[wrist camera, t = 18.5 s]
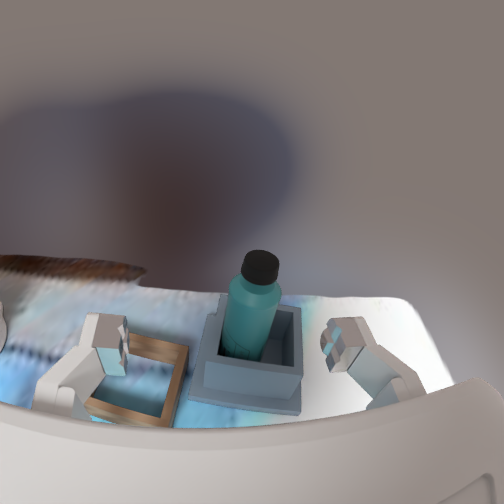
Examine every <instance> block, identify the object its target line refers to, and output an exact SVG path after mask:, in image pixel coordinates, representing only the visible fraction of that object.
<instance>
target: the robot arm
mask: <svg viewBox="0 0 504 504" xmlns="http://www.w3.org/2000/svg"><path fill="white" fill-rule="evenodd" d="M126 326H127V319H126V316H122V315H112V314H102V313H92V312H88V314H87V315H86V319H85V322H84V326H83V330H82V334H81V337H80V341H79V345H78V346H74V347H73V348H72V349H71V350H70V351H69V352H67V353H66V354H65V355H64V356H63V357H62V358H61V359H60V360H59V361H58V362H57V363H56V364H55V365H54V366H53V367H52V368H51V369H50V370H48V371H47V372H46V373H45V374H44V375H43V376H42V377H41V378H40V379H39V380H38V382H37V386H36V390H35V394H34V398H33V402H32V407H31V409H27V408H23V407H19V406H15V405H12V404H8V403H5V402H1V401H0V504H504V400H503V399H502V397H501V395H500V394H499V392H498V391H497V390H495V388H493V387H492V386H491V385H489V384H488V383H487V382H485V381H484V380H482V379H481V378H472V379H469V380H467V381H464V382H461V383H459V384H456V385H453V386H450V387H447V388H444V389H441V390H438V391H435V392H432V393H429V394H427V393H426V391H425V389H424V387H423V385H422V383H421V381H420V379H419V377H418V375H417V373H416V372H415V371H414V370H412V369H411V368H410V367H408V366H407V365H406V364H405V363H403V362H402V361H401V360H399V359H398V358H397V357H395V356H394V355H393V354H391V353H390V352H389V351H388V350H386V349H385V348H384V347H382V346H381V345H377V343H376V341H375V339H374V337H373V335H372V333H371V331H370V329H369V327H368V325H367V323H366V321H365V319H364V318H363V317H344V318H331V319H330V320H329V321H328V322H327V326H328V328H327V329H325V330H324V331H323V333H322V335H321V340H320V344H321V349H322V352H323V353H325V354H326V355H327V358H326V363H327V366H328V369H329V372H330V373H333V372H343V371H347V373H348V374H349V375H350V376H351V377H352V378H353V379H354V380H355V381H356V382H357V383H358V384H359V385H360V386H361V387H362V388H363V389H364V390H365V391H366V392H367V393H368V394H369V395H370V396H371V397H372V398H373V400H372V401H371V402H370V403H369V404H368V405H367V407H366V410H364V411H360V412H355V413H350V414H345V415H339V416H334V417H328V418H321V419H315V420H308V421H301V422H293V423H284V424H274V425H263V426H250V427H231V428H163V427H145V426H132V425H121V424H112V423H103V422H96V421H92V418H91V416H90V415H89V413H88V412H87V410H86V409H85V407H84V405H83V404H84V403H85V402H86V400H87V399H88V398H89V397H90V395H91V394H92V393H93V391H94V390H95V389H96V388H97V386H98V385H99V384H100V382H101V381H102V380H103V379H104V377H105V375H117V376H126V371H127V363H128V361H127V357H126V355H127V354H128V353H129V344H130V337H129V329H127V328H126ZM6 335H7V328H6V323H5V320H4V318H3V305H2V303H1V301H0V351H1V350H2V348H3V346H4V343H5V340H6Z"/></svg>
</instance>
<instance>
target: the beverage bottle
mask: <svg viewBox="0 0 504 504" xmlns="http://www.w3.org/2000/svg"><path fill="white" fill-rule="evenodd" d="M278 270H279V260H278V258H277V257H276V256H275V255H273V254H272V253H270V252H267V251H264V250H253V251H250V252H248V253H247V254H246V256H245V259H244V262H243V264H242V268H241V273H240V274H238V275H236V276H235V277H234V278H233V279H232V280H231V282H230V285H229V294H228V300H227V307H226V312H225V318H224V325H223V330H222V331H223V332H221V336H222V338H220V339H221V340H220V344H219V345H220V347H219V352H218V353H219V355H220V356H224V357H230V358H236V359H242V360H248V361H254V362H260V360H261V358H262V354H263V353H264V352H263V351H264V348H265V345H266V342H267V341H268V340H267V339H268V336H269V333H270V329H271V325H272V322H273V319H274V316H275V313H276V310H277V307H278V303H279V301H280V299H281V295H282V293H281V288H280V286H279V284H278V283H277V282H276V279H277V276H278ZM224 311H225V310H224ZM267 343H268V342H267Z"/></svg>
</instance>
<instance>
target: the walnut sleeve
mask: <svg viewBox="0 0 504 504" xmlns="http://www.w3.org/2000/svg"><path fill="white" fill-rule="evenodd" d="M129 337H130V344H129V354H133V355H137V356H141V357H144V358H148V359H152V360H156V361H160V362H165V363H169V364H173V365H175V367H174V371H173V374H172V378H171V381H170V385H169V388H168V392H167V396H166V399H165V403H164V407H163V411H162V414H161V418H158V417H154V416H150V415H147V414H143V413H139V412H136V411H132V410H129V409H126V408H122V407H119V406H116V405H113V404H110V403H107V402H104V401H101V400H98V399H95V398H93V396H94V394H95V391H96V389H97V388H96V389H95V390H94V391H93V393H92V394H91V395H90V397H89V398H88V399H87V400H86V402H85V403H84V404H83V405H84V407H85V409H86V410H87V412H88V413H89V414H90V415H93V416H95V417H98V418H101V419H104V420H107V421H110V422H113V423H116V424H121V425H132V426H145V427H163V428H172V426H173V422H174V418H175V414H176V409H177V405H178V401H179V397H180V393H181V389H182V385H183V381H184V377H185V373H186V369H187V365H188V361H189V346H184V345H180V344H175V343H171V342H166V341H162V340H158V339H154V338H149V337H145V336H141V335H137V334H134V333H130V332H129Z"/></svg>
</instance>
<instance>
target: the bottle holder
mask: <svg viewBox="0 0 504 504" xmlns="http://www.w3.org/2000/svg"><path fill="white" fill-rule="evenodd" d="M227 300H228V295H223V294H221V295H220V299H219V304H218V308H217V312H216V316H215V315H210V314H208V315H207V319H206V323H205V327H204V331H203V335H202V339H201V344H200V348H199V352H198V356H197V360H196V364H195V369H194V373H193V377H192V381H191V386H190V390H189V394H188V400H192V401H197V402H202V403H207V404H212V405H218V406H224V407H230V408H236V409H243V410H250V411H257V412H265V413H274V414H283V415H294V416H298V415H299V414H300V413H301V379H302V377H303V348H302V323H301V308H298V307H292V306H286V305H280V304H278V307H277V310H276V313H275V316H274V319H273V322H272V325H271V329H270V333H269V336H268V339H267V340H268V341H267V342H268V343H267V342H266V345H265V348H264V351H263V352H264V353H263V354H262V358H261V360H260V362H254V361H248V360H242V359H236V358H230V357H224V356H220V355H219V353H218V352H219V347H220V345H219V344H220V340H221V339H220V338H222V336H221V332H223V331H222V330H223V325H224V318H225V312H226V307H227ZM224 310H225V311H224Z"/></svg>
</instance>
